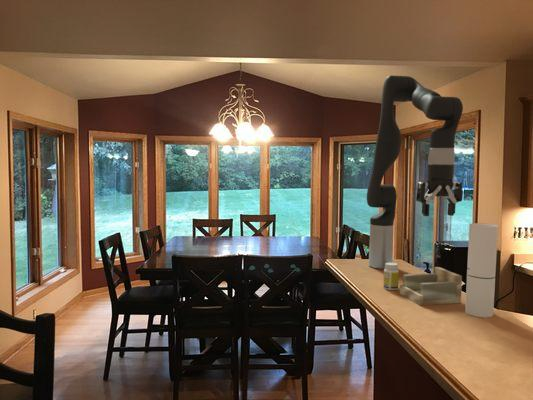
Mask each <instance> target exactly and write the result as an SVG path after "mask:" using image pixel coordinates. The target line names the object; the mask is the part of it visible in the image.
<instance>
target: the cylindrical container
mask: <svg viewBox="0 0 533 400" xmlns="http://www.w3.org/2000/svg"><path fill="white" fill-rule="evenodd" d="M468 225H469V227H468V228H469V229H468V244H467V247H468V249H467V265H466V266H467V269H466V284H465V285H466V291H465V307H464V309H465V311H464V312H465V313H466V315H469V316H472V317H478V318H491V317H493V316H494V309H495V307H494V306H495V289H496V270H497V254H498V253H497V252H498V251H497V250H498V238H499V237H498V233H499V225H498V224H493V223H483V222H482V223H481V222H480V223H479V222H474V223H473V222H471V223H469V224H468Z"/></svg>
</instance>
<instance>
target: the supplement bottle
mask: <svg viewBox="0 0 533 400" xmlns="http://www.w3.org/2000/svg"><path fill="white" fill-rule="evenodd" d="M398 265H399V264H398V263H396V262H392V263H385V268H386V269H383V288H384V289H385V290H388V291H398V289H399V280H400V278H399V275H400V271H399V269H398V268H399V267H398Z"/></svg>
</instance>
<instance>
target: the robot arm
mask: <svg viewBox="0 0 533 400" xmlns="http://www.w3.org/2000/svg"><path fill="white" fill-rule="evenodd" d="M381 95H382V96H381V107H380V116H379V117H380V119H379V124H378V125H379V126H378V130H377V135H376V141H375V142H376V143H375V147H374V156H373V164H372V170H371V174H370V178H369V182H368V186H367V190H366V191H367V192H366V203H367V205H368V206H369V207H370V208H373V209H374V208H378V209H379V208H382V210H381V211H380V212H379V213H377V214H374V215H373V216H371V217H370V220H369V245H368V247H369V250H368V266H369V267H371V268H373V269H381V270H384V269H386V268H385V263H393V259H394V258H393V257H394V256H393V255H394V254H393V253H394V229H395V228H394V225H395V219H396V209H397V207H396V206H397V198H398V197H397V188H396V187H395V186H394V185H393V184H382V181H383V178H384V176H385V174H386V173H387V171H388V170H389V169H390V168H391V167H392V165H394V164H395V162H396V160H397V159H398V158H399V156H400V152H401V147H402V141H403V137H402V133H401V129H400V128H399V126H398V124H397V122H396V119H395V115H394V114H395V113H394V104H395V102H399V103H405V102H406V103H407V102H411V103H412V105H413V106H414V108H416V109H417V110H419V111H421V112H423V113H424V115H425V117H426V118H427V119H428V120H432V121H444V123H443V125H442V126H441V127H437V128H433V129H431V131H430V134H429V135H430V136H429V150H428V154H427V155H428V156H427V158H428V159H427V172H426V173H427V181H426V182H425V181H424V182H422V181H418V182H417V187H416V188H417V189H416V198H415V201H417V202H419V203H421V214H422V215H423V217H429V216H430V202H431V201H432V200H433V199H434V198H435V197H444V198H445V199H446V201H448V203H447V215H448V216H450V217H453V216H454V215H455V213H456V207H457V206H456V205H457V203H459V202H460V203H461V202H462V201H463V182H461V181H460V182H459V181H454V182H453V179H454V177H455V174H454V173H455V158H456V157H455V156H456V155H455V141H456V140H455V138H456V132H457V130H458V127H459V123H460V121H461V117H462V116H463V115H462V114H463V110H464V106H463V103H462V101H461V99H460V98H459V97H456V96H442V95H441V94H439V93H438V91H437V92H436V91H434V90H432V89H429V88H427V87H425V86H423V85H422V84H421V83H420V82H419V81H417V79H415V78H414V77H412V76H408V75H393V74H392V75H388V76H386V78H385V80H384V82H383V87H382V93H381ZM452 189H453V192H452ZM426 190H427V191H426Z"/></svg>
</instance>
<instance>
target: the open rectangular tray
mask: <svg viewBox="0 0 533 400" xmlns="http://www.w3.org/2000/svg"><path fill="white" fill-rule="evenodd" d="M433 268H434V269H433V272H432V273H415V274H413V273H411V274H410V273H409V274H403V277H402V278H403V283H402V284H400V285H399V295H401V296H403V297H405V298H407V299H408V300H410V301H411V300H412V302H413V303H415V304H417V305H418V306H430V305H431V306H432V305H449V304H461V303H462V286H463V285H462V284H463V275H460V274H458V273H455V272H452V271H450V270H447V269H445V268H443V267H440V266H435V267H433Z"/></svg>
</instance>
